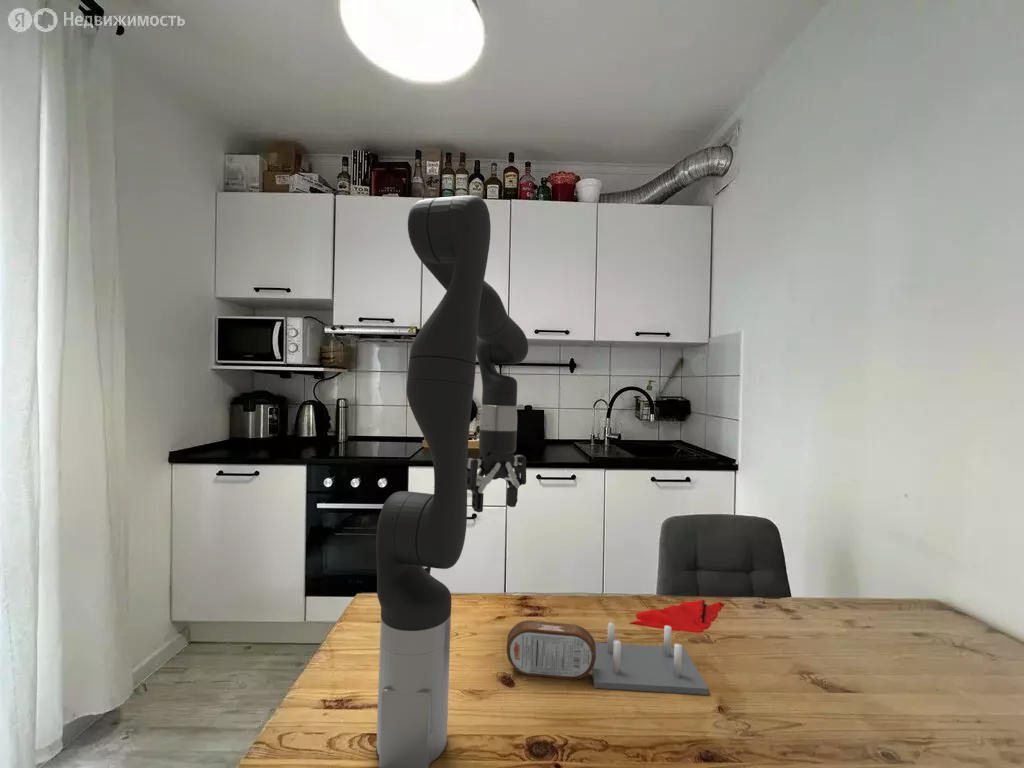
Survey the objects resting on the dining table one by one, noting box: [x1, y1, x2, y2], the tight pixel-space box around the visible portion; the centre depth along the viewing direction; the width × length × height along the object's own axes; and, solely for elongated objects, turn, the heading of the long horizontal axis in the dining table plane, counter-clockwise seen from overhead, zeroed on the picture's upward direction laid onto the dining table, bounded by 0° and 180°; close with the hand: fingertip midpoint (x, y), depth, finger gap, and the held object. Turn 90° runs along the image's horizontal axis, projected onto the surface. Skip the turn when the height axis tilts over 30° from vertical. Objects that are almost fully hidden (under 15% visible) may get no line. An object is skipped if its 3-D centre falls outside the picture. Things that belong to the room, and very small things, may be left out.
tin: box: [506, 619, 596, 681], centre depth 79 cm, size 15×3×8 cm, turn 84°
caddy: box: [590, 621, 709, 696], centre depth 82 cm, size 12×18×6 cm, turn 87°
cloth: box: [629, 599, 725, 634], centre depth 101 cm, size 26×14×2 cm, turn 101°
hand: (495, 508), depth 95 cm, fingers open, 8 cm apart
